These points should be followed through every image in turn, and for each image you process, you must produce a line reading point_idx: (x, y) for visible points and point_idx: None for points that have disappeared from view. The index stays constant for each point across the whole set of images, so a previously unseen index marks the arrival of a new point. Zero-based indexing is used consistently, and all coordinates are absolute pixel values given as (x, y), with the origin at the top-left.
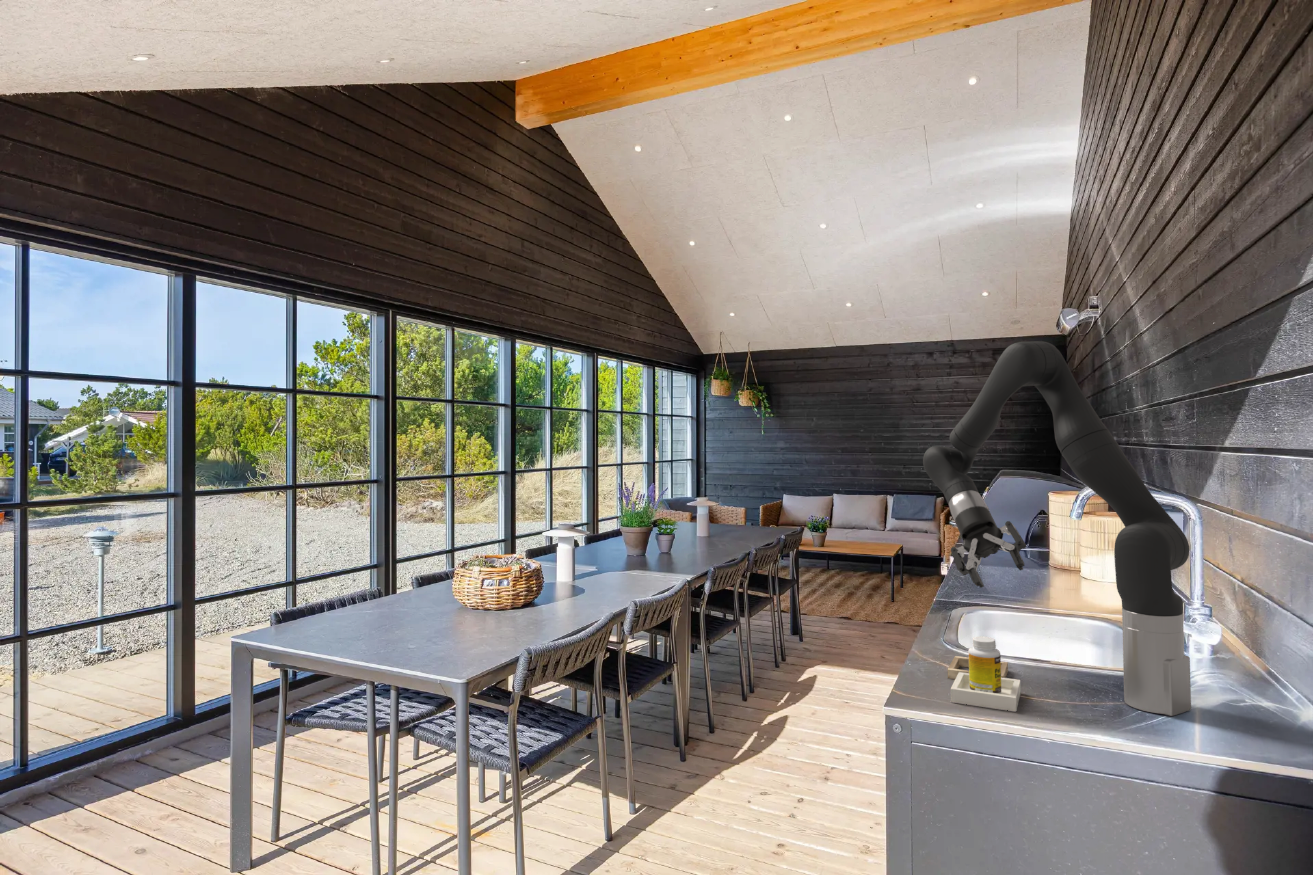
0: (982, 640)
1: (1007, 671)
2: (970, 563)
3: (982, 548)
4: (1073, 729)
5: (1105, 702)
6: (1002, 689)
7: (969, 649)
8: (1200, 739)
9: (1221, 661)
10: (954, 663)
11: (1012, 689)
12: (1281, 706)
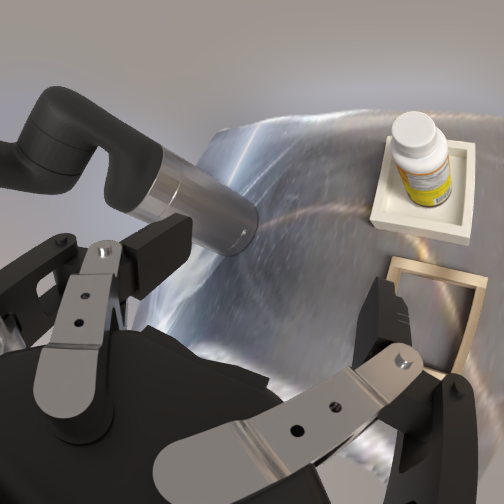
0: (415, 117)
1: None
2: (384, 370)
3: (211, 392)
4: (338, 123)
5: (277, 222)
6: (402, 214)
7: (445, 140)
8: (243, 150)
9: None
10: (469, 327)
11: (388, 168)
12: None
